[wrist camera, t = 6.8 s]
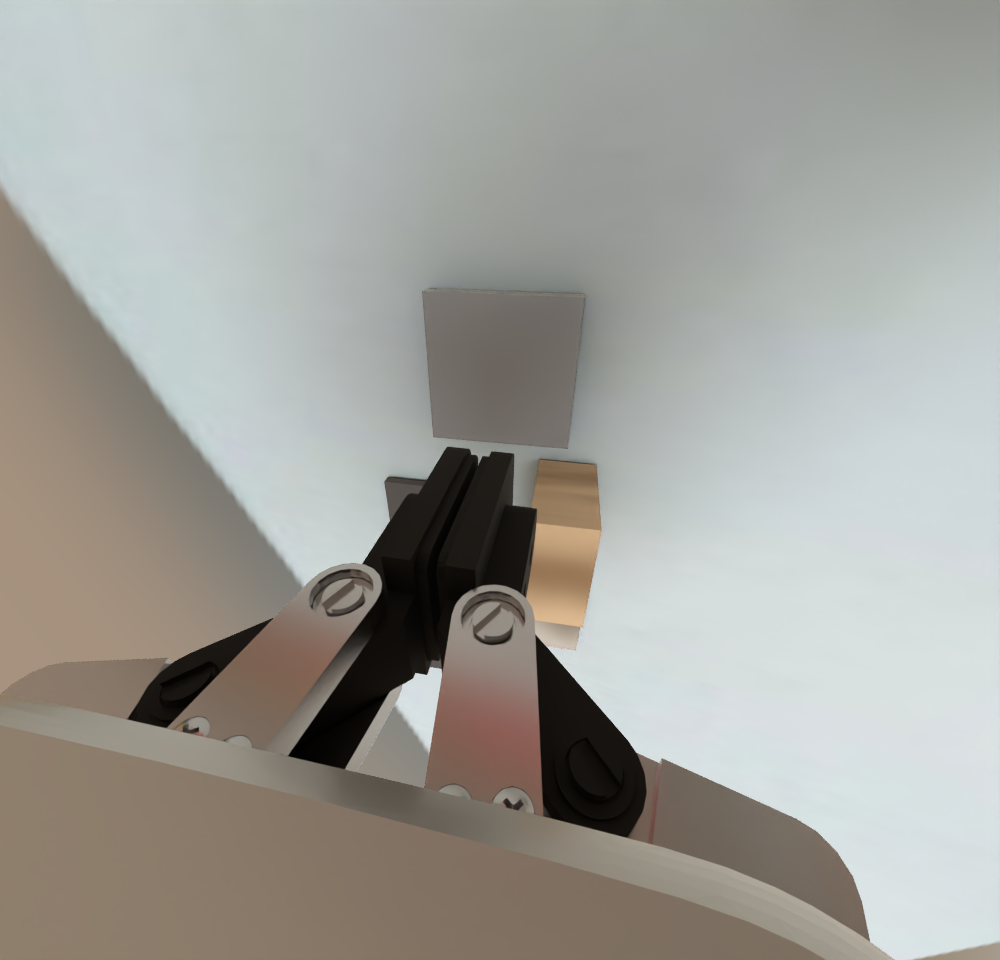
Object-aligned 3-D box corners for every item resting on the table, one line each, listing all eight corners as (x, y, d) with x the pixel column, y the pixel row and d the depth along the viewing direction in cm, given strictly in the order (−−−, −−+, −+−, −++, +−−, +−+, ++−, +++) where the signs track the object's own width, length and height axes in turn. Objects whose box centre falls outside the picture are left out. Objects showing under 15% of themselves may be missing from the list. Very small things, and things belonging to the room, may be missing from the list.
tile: (584, 293, 21) (432, 287, 22) (585, 297, 19) (422, 291, 20) (568, 437, 25) (441, 426, 26) (567, 449, 23) (433, 437, 24)
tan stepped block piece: (527, 458, 26) (513, 520, 20) (608, 466, 25) (617, 532, 19) (515, 634, 34) (504, 711, 29) (575, 644, 34) (575, 723, 28)
